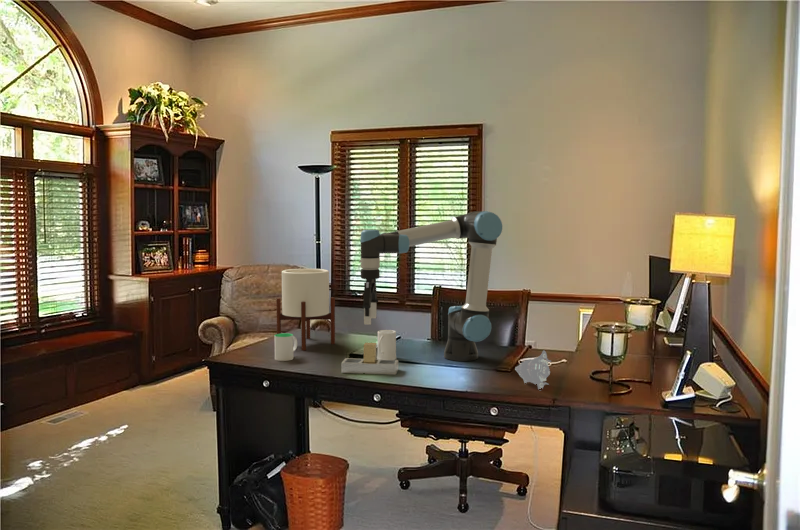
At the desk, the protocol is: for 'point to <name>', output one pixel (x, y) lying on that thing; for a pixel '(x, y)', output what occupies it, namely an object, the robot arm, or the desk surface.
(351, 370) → the grey compartment tray
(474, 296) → the robot arm
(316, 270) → the plant pot with stand
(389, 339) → the mug
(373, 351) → the brass block
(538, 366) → the figurine
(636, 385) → the desk surface
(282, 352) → the mug
